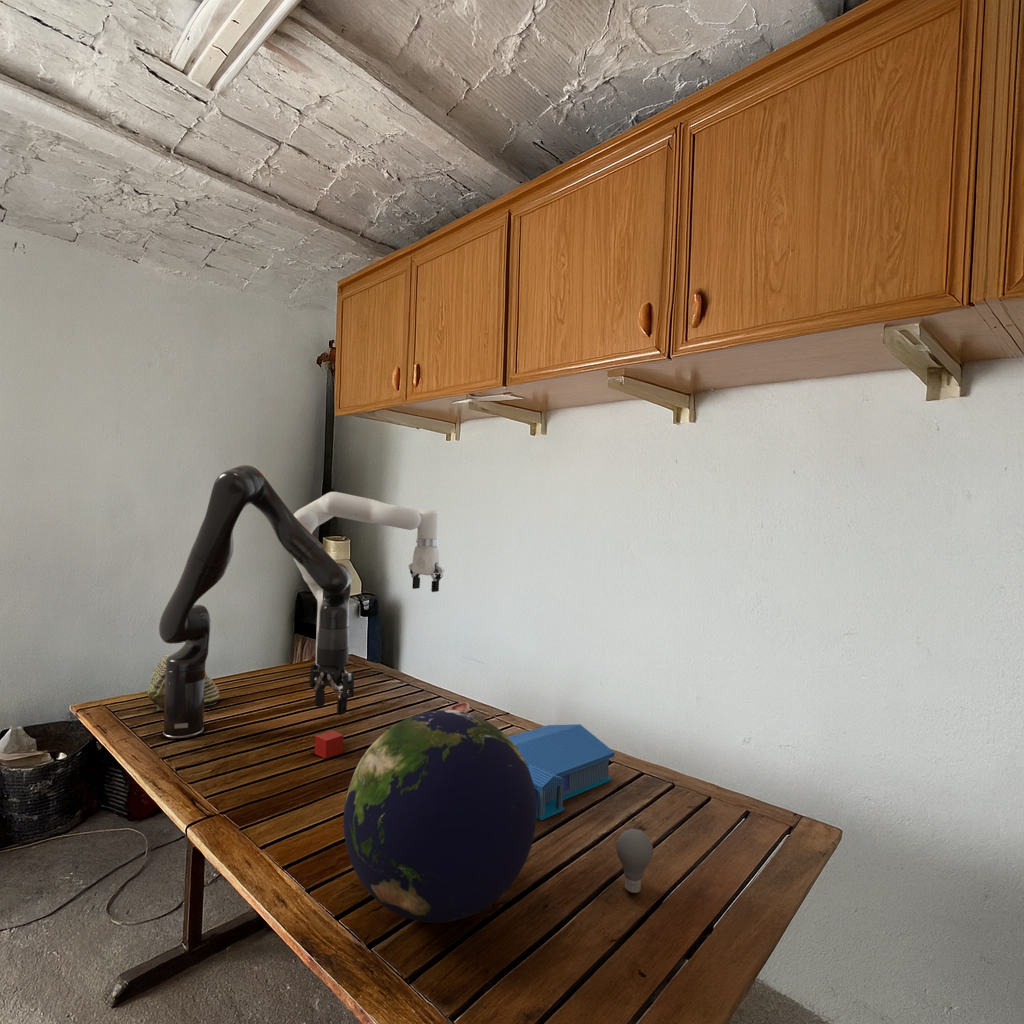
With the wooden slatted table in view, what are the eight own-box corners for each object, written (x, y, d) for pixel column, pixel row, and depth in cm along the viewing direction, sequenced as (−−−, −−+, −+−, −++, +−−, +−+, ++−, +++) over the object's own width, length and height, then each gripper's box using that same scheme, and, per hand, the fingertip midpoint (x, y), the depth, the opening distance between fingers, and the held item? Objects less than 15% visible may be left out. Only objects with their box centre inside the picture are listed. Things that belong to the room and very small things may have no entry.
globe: (296, 934, 92) (304, 728, 91) (406, 836, 119) (412, 678, 119) (484, 1004, 80) (494, 770, 80) (557, 878, 108) (565, 703, 108)
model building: (493, 841, 119) (496, 788, 119) (420, 792, 137) (422, 747, 137) (623, 784, 145) (625, 741, 145) (547, 750, 164) (548, 712, 163)
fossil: (144, 707, 182) (145, 655, 182) (212, 696, 194) (213, 647, 194) (151, 716, 175) (153, 662, 175) (221, 703, 188) (223, 653, 188)
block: (314, 753, 156) (314, 735, 156) (331, 747, 160) (332, 730, 160) (325, 758, 153) (326, 740, 153) (343, 752, 157) (343, 734, 157)
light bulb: (610, 879, 108) (613, 822, 108) (644, 879, 109) (647, 822, 109) (619, 902, 102) (622, 840, 102) (655, 901, 103) (658, 840, 103)
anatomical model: (417, 708, 179) (430, 696, 190) (416, 722, 179) (430, 710, 191) (462, 714, 177) (473, 701, 188) (461, 728, 177) (472, 715, 188)
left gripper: (302, 642, 157) (300, 706, 157) (338, 652, 149) (336, 721, 149) (327, 637, 163) (325, 700, 163) (364, 647, 155) (361, 713, 155)
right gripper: (403, 541, 233) (401, 588, 234) (437, 545, 223) (435, 593, 223) (418, 541, 239) (416, 586, 240) (451, 544, 229) (449, 592, 229)
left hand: (330, 710), depth 156 cm, fingers open, 8 cm apart
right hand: (425, 590), depth 231 cm, fingers open, 9 cm apart
